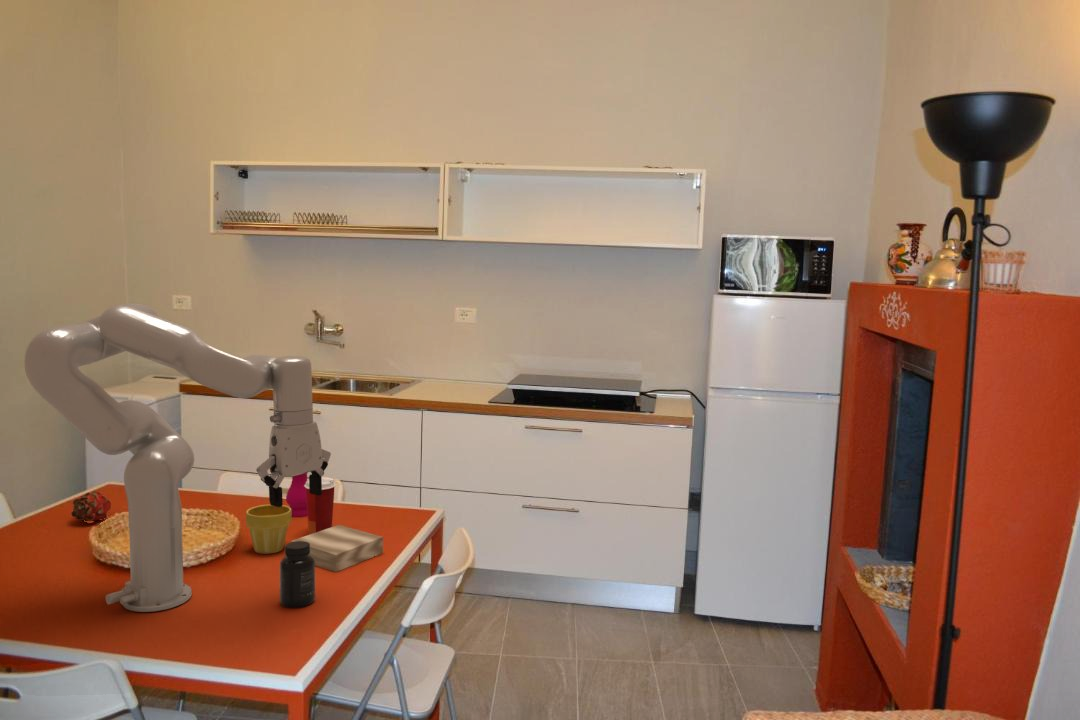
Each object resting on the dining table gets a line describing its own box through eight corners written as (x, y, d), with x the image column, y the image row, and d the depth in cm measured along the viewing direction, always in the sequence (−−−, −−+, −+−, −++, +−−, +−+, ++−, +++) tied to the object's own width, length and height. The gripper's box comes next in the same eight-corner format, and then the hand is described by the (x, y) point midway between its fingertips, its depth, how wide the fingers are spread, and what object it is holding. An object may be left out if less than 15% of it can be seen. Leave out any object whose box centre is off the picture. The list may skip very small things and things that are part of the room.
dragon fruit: (82, 535, 196) (94, 527, 207) (112, 513, 198) (122, 506, 210) (60, 509, 195) (73, 502, 206) (91, 488, 197) (102, 482, 208)
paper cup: (339, 529, 202) (340, 477, 200) (329, 539, 194) (329, 485, 193) (311, 527, 203) (311, 475, 201) (299, 537, 195) (299, 483, 194)
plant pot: (271, 538, 193) (271, 501, 192) (300, 547, 188) (300, 508, 187) (236, 550, 185) (236, 511, 184) (266, 560, 179) (265, 519, 178)
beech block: (336, 572, 174) (336, 554, 173) (291, 557, 181) (291, 540, 181) (382, 553, 186) (383, 537, 186) (339, 540, 194) (339, 524, 194)
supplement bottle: (315, 593, 162) (315, 538, 160) (314, 607, 155) (314, 549, 154) (281, 596, 160) (280, 540, 159) (278, 610, 153) (278, 551, 152)
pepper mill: (286, 510, 217) (286, 440, 214) (313, 508, 219) (313, 439, 217) (285, 518, 210) (285, 446, 208) (313, 516, 212) (313, 445, 210)
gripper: (268, 426, 147) (271, 514, 148) (339, 413, 161) (341, 493, 163) (244, 422, 151) (248, 507, 153) (316, 409, 165) (318, 487, 167)
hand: (296, 499), depth 158 cm, fingers open, 9 cm apart
